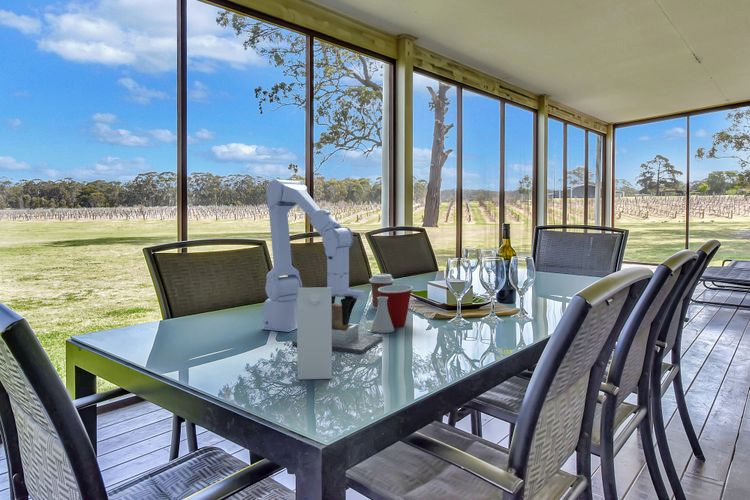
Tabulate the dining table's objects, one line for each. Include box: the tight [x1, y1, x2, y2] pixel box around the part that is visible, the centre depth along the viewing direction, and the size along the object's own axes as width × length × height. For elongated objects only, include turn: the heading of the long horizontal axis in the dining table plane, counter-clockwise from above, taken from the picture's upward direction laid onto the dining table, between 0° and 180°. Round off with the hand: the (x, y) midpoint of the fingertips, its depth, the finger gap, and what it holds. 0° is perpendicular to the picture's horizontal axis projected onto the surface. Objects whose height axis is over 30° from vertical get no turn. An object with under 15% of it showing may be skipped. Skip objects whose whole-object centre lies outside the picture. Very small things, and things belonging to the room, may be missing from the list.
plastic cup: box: [378, 284, 414, 328], centre depth 154 cm, size 11×11×12 cm
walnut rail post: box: [331, 302, 348, 330], centre depth 134 cm, size 4×4×8 cm
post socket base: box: [291, 322, 384, 355], centre depth 134 cm, size 20×14×4 cm
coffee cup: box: [368, 273, 395, 310], centre depth 182 cm, size 9×9×12 cm
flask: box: [370, 297, 395, 334], centre depth 147 cm, size 7×7×10 cm
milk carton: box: [296, 286, 333, 380], centre depth 108 cm, size 7×7×19 cm
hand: (338, 323), depth 134 cm, fingers closed on walnut rail post, 4 cm apart
